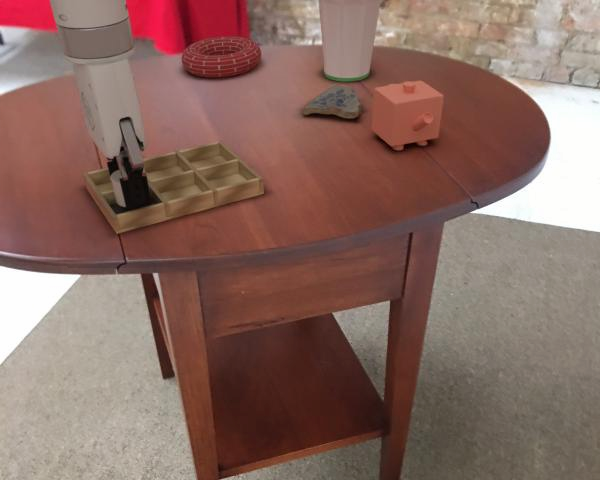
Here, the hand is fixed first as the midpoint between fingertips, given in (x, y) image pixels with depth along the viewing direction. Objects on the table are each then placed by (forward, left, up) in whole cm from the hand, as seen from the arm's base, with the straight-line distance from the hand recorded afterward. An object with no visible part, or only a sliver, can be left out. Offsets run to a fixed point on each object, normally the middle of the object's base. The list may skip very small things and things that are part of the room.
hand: (132, 196), depth 80 cm
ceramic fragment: (+40, +16, -3) cm, 44 cm away
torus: (+32, +46, -3) cm, 57 cm away
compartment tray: (+6, +3, -2) cm, 8 cm away
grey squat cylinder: (0, 0, 0) cm, 0 cm away
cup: (+50, +30, -3) cm, 59 cm away
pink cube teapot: (+42, 0, -3) cm, 43 cm away
